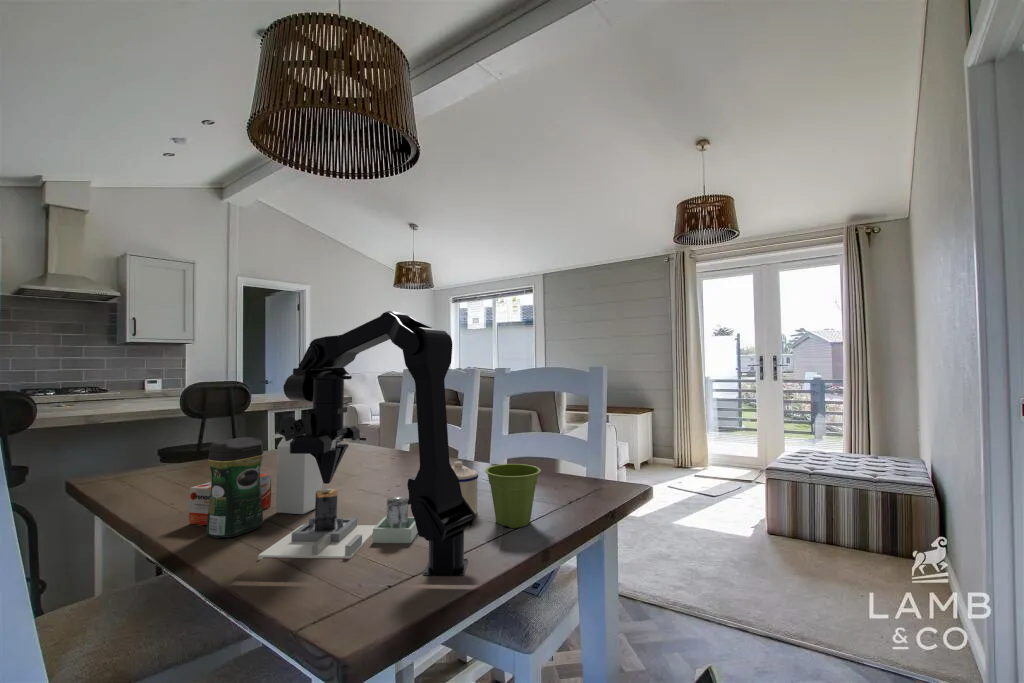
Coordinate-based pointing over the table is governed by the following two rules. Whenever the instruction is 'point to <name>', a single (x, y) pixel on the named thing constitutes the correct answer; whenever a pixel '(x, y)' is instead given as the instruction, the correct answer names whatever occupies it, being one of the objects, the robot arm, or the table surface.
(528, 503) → the plant pot
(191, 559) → the table surface
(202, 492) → the medicine box
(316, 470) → the milk carton
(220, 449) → the coffee jar
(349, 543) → the white square base board
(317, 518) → the cell
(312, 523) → the cradle
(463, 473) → the teacup with lid
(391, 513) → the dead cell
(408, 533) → the cup
